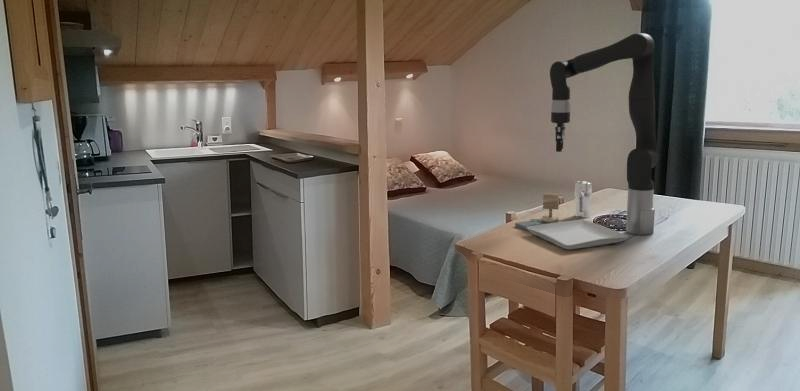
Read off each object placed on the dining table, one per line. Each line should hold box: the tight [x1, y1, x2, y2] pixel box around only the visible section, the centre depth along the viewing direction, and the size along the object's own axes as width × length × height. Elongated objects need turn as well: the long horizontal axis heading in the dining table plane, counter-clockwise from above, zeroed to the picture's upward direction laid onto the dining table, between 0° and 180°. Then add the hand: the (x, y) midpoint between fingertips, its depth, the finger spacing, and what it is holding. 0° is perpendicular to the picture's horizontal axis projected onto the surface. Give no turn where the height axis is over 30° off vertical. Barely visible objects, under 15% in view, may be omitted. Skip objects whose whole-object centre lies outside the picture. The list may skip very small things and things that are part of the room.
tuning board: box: [514, 219, 565, 232], centre depth 255 cm, size 12×18×2 cm
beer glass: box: [574, 180, 593, 218], centre depth 270 cm, size 7×7×15 cm
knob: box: [529, 192, 560, 223], centre depth 256 cm, size 6×11×11 cm, turn 71°
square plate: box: [526, 219, 629, 250], centre depth 236 cm, size 27×27×4 cm
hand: (559, 150), depth 260 cm, fingers open, 8 cm apart
